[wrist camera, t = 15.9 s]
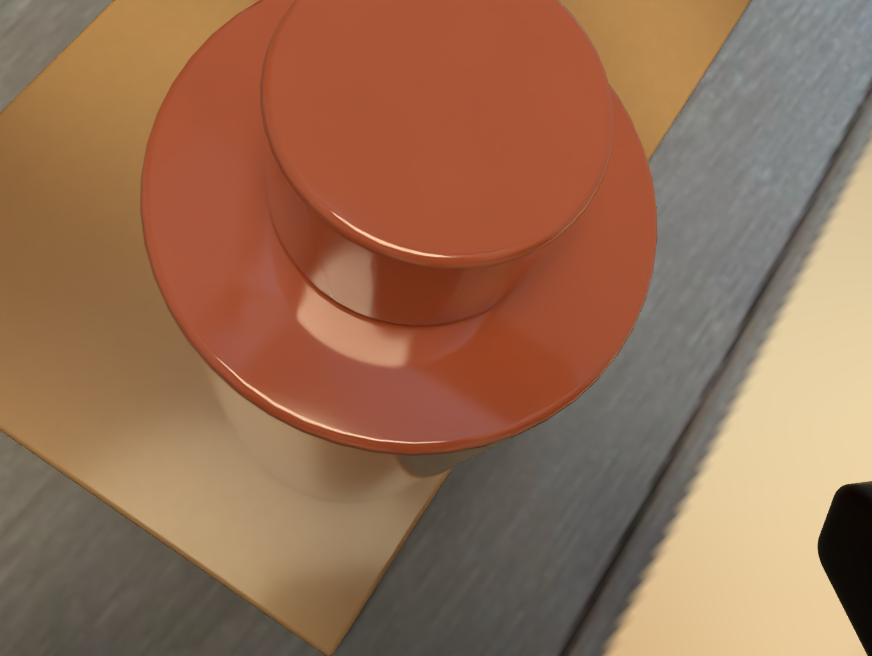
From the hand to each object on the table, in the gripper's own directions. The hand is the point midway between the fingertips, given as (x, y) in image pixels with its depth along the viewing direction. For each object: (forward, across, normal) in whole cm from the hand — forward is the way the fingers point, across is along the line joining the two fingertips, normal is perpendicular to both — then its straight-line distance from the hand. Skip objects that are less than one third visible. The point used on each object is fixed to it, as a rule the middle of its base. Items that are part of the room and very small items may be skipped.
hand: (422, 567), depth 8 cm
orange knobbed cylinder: (+6, 0, +2) cm, 6 cm away
